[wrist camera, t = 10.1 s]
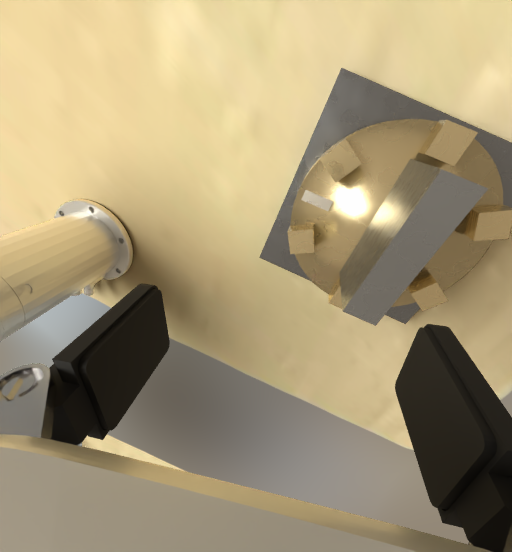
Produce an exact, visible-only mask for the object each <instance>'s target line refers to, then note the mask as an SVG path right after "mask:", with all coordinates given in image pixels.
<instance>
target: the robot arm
mask: <svg viewBox="0 0 512 552" xmlns="http://www.w3.org/2000/svg"><path fill="white" fill-rule="evenodd" d="M132 259H133V248H132V244H131V240H130V238H129V236H128V233H127V231H126V230H125V228H124V227H123V225H122V224H121V222H120V221H119V220H118V219H117V218H116V217H115V216H114V215H113V214H112V213H111V212H110V211H109V210H107V209H106V208H105V207H103V206H101V205H99V204H97V203H95V202H93V201H89V200H84V199H77V200H72V201H69V202H66V203H64V204H62V205H61V206H60V207H59V208H58V209H57V211H56V214H55V217H54V219H52V220H49V221H46V222H43V223H40V224H36V225H33V226H30V227H27V228H24V229H21V230H18V231H15V232H12V233H9V234H6V235H3V236H0V342H1V341H2V340H4V339H5V338H7V337H8V336H10V335H11V334H13V333H14V332H16V331H18V330H19V329H21V328H22V327H24V326H25V325H27V324H28V323H30V322H32V321H33V320H35V319H36V318H38V317H39V316H41V315H42V314H44V313H45V312H47V311H49V310H50V309H52V308H53V307H55V306H56V305H58V304H59V303H61V302H62V301H64V300H65V299H67V298H69V297H70V296H76V295H80V294H81V293H82V288H84V294H85V295H88V296H90V295H93V294H94V284H96V283H97V282H99V281H100V280H102V279H104V280H112V279H115V278H118V277H120V276H121V275H123V274H124V273H125V272H127V270H128V269H129V268H130V266H131V263H132ZM168 348H169V336H168V330H167V323H166V317H165V311H164V305H163V299H162V293H161V291H160V290H158V288H157V286H155V285H148V284H139V285H138V286H137V287H135V288H134V289H133V290H132V291H131V292H130V293H129V294H127V295H126V296H125V297H124V298H123V299H122V300H120V301H119V302H118V303H117V304H116V305H115V306H113V307H112V308H111V309H110V310H109V311H108V312H107V313H105V314H104V315H103V316H102V317H101V318H99V319H98V320H97V321H96V322H95V323H94V324H93V325H91V326H90V327H89V328H88V329H87V330H86V331H84V332H83V333H82V334H81V335H80V336H79V337H77V338H76V339H75V340H74V341H73V342H72V343H70V344H69V345H68V346H67V347H66V348H65V349H64V350H62V351H61V352H60V353H59V354H58V355H56V356H55V357H54V358H53V359H52V360H53V362H54V364H53V365H52V366H51V367H50V368H48V367H47V366H46V365H43V364H40V363H37V364H35V363H32V364H28V365H22V366H20V367H17V368H14V369H12V370H10V371H8V372H6V373H4V374H3V375H1V376H0V552H512V417H511V416H510V414H509V413H508V411H507V410H506V408H505V407H504V406H503V404H502V403H501V401H500V400H499V398H498V397H497V395H496V394H495V393H494V391H493V390H492V388H491V387H490V385H489V384H488V383H487V381H486V380H485V378H484V377H483V375H482V374H481V372H480V371H479V370H478V368H477V367H476V365H475V364H474V362H473V361H472V360H471V358H470V357H469V355H468V354H467V352H466V351H465V349H464V348H463V347H462V345H461V344H460V342H459V341H458V339H457V338H456V337H455V335H454V334H453V332H452V331H451V329H450V328H449V327H446V326H439V325H432V324H427V325H426V326H425V327H424V328H420V329H419V330H418V332H417V334H416V336H415V339H414V341H413V343H412V346H411V348H410V350H409V353H408V355H407V357H406V360H405V362H404V364H403V367H402V369H401V371H400V374H399V376H398V378H397V380H396V384H395V390H396V394H397V398H398V401H399V404H400V407H401V410H402V413H403V417H404V420H405V423H406V426H407V429H408V433H409V436H410V439H411V442H412V445H413V448H414V452H415V455H416V458H417V461H418V464H419V467H420V471H421V474H422V477H423V480H424V483H425V486H426V490H427V493H428V496H429V499H430V502H431V503H432V505H433V506H434V507H436V508H438V511H439V513H440V516H441V520H442V523H445V524H449V525H454V526H458V527H462V528H463V529H464V531H465V534H466V536H467V539H468V540H469V543H468V545H467V544H464V543H460V542H456V541H453V540H449V539H446V538H442V537H438V536H435V535H431V534H427V533H424V532H420V531H416V530H413V529H409V528H406V527H402V526H398V525H394V524H390V523H386V522H382V521H378V520H374V519H371V518H367V517H363V516H359V515H355V514H351V513H347V512H343V511H339V510H336V509H331V508H328V507H324V506H320V505H316V504H312V503H308V502H304V501H300V500H297V499H293V498H289V497H284V496H280V495H277V494H272V493H269V492H265V491H261V490H257V489H253V488H249V487H245V486H241V485H237V484H233V483H229V482H225V481H221V480H217V479H213V478H209V477H205V476H201V475H197V474H193V473H189V472H185V471H181V470H177V469H173V468H169V467H165V466H161V465H157V464H153V463H149V462H144V461H140V460H136V459H132V458H128V457H124V456H120V455H116V454H112V453H108V452H104V451H99V450H95V449H91V448H86V447H82V442H83V440H84V439H85V438H86V436H87V435H88V436H89V437H93V438H97V439H101V440H103V439H104V438H105V436H106V435H107V433H108V432H109V430H113V429H114V428H115V427H116V426H117V425H118V423H119V422H120V420H121V419H122V417H123V416H124V414H125V413H126V411H127V410H128V408H129V407H130V405H131V404H132V403H133V401H134V400H135V398H136V397H137V395H138V394H139V392H140V391H141V389H142V387H143V386H144V385H145V383H146V382H147V380H148V379H149V377H150V376H151V374H152V373H153V371H154V370H155V369H156V367H157V366H158V364H159V363H160V361H161V360H162V358H163V357H164V355H165V354H166V352H167V351H168Z"/></svg>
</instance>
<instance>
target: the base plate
mask: <svg viewBox="0 0 512 552" xmlns="http://www.w3.org/2000/svg"><path fill="white" fill-rule="evenodd" d="M402 119H425V120H431V121H439V120H449V121H451V122H454V123H456V124H459V125H461V126H464V127H466V128H468V129H471V130H473V131H476V132H478V134H477V135H476V136H475V138H474V139H475V140H476V141H478V142H479V143H480V144H481V145H482V146H483V147H484V149H485V150H486V151H487V152H488V153H489V155H490V156H491V158H492V160H493V161H494V163H495V164H496V167H497V169H498V172H499V175H500V177H501V182H502V188H503V205H506V206H509V207H511V208H512V143H511V142H509V141H506V140H504V139H502V138H500V137H497V136H495V135H493V134H491V133H488V132H486V131H484V130H481V129H479V128H477V127H475V126H472V125H470V124H468V123H466V122H463V121H461V120H459V119H457V118H454V117H452V116H450V115H447V114H445V113H443V112H441V111H438V110H436V109H434V108H432V107H429V106H427V105H425V104H423V103H420V102H418V101H416V100H414V99H411V98H409V97H407V96H404V95H402V94H400V93H398V92H395V91H393V90H391V89H389V88H386V87H384V86H382V85H380V84H377V83H375V82H373V81H370V80H368V79H366V78H364V77H361V76H359V75H357V74H355V73H352V72H350V71H348V70H346V69H343V68H341V70H340V73H339V75H338V77H337V80H336V82H335V84H334V87H333V89H332V91H331V94H330V96H329V98H328V100H327V103H326V105H325V107H324V110H323V112H322V114H321V117H320V119H319V121H318V123H317V126H316V128H315V130H314V133H313V135H312V137H311V140H310V142H309V144H308V147H307V149H306V151H305V153H304V156H303V158H302V160H301V163H300V165H299V167H298V170H297V172H296V174H295V177H294V179H293V181H292V183H291V186H290V188H289V190H288V193H287V195H286V197H285V200H284V202H283V204H282V207H281V209H280V211H279V213H278V216H277V218H276V220H275V223H274V225H273V227H272V230H271V232H270V234H269V236H268V239H267V241H266V243H265V246H264V248H263V250H262V253H261V255H260V258H262V259H264V260H266V261H268V262H271V263H273V264H275V265H277V266H279V267H282V268H284V269H286V270H288V271H290V272H292V273H295V274H297V275H299V276H301V277H303V278H306V279H308V280H310V278H309V277H308V276H307V275H306V274H305V272H304V271H303V269H302V268H301V266H300V264H299V262H298V260H297V258H296V256H295V254H290V248H289V240H288V232H287V231H288V229H289V226H290V223H291V214H292V209H293V204H294V201H295V199H296V196H297V193H298V191H299V189H300V186H301V184H302V182H303V180H304V178H305V177H306V175H307V173H308V172H309V170H310V169H311V167H312V166H313V165H314V163H315V162H316V161H317V160H318V159H319V158H320V156H321V155H322V154H324V153H325V152H326V151H327V150H328V149H329V148H330V147H331V146H332V145H334V144H335V143H337V142H338V141H339V140H341V139H342V138H344V137H346V136H348V135H349V134H351V133H353V132H355V131H357V130H360V129H362V128H365V127H367V126H370V125H374V124H377V123H381V122H387V121H394V120H402ZM310 281H311V280H310ZM419 309H420V307H419V305H418V304H417V302H415V303H411V304H407V305H402V306H396V307H391V308H390V309H389V310H388V311H387V312H386V314H385V315H387V316H389V317H391V318H394V319H396V320H398V321H400V322H402V323H405V324H406V323H407V322H408V321H409V319H410V318H411V317H412V316H413V315H414V314H415V313H416V312H417V311H418V310H419Z"/></svg>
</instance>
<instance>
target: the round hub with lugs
mask: <svg viewBox="0 0 512 552" xmlns="http://www.w3.org/2000/svg"><path fill="white" fill-rule="evenodd" d="M477 134H478V132H476V131H473V130H471V129H468V128H466V127H464V126H461V125H459V124H456V123H454V122H451V121H449V120H439V121H431V120H425V119H402V120H394V121H387V122H381V123H377V124H374V125H370V126H367V127H365V128H362V129H360V130H357V131H355V132H353V133H351V134H349V135H348V136H346V137H344V138H342V139H341V140H339V141H338V142H337V143H335V144H334V145H332V146H331V147H330V148H329V149H328V150H327V151H326V152H325V153H324V154H322V155H321V156H320V158H319V159H318V160H317V161H316V162H315V163H314V165H313V166H312V167H311V169H310V170H309V172H308V173H307V175H306V177H305V178H304V180H303V182H302V184H301V186H300V189H299V191H298V193H297V196H296V199H295V201H294V204H293V209H292V214H291V223H290V226H289V229H288V231H287V232H288V240H289V248H290V254H295V256H296V258H297V260H298V262H299V264H300V266H301V268H302V269H303V271H304V272H305V274H306V275H307V276H308V277H309V278H310V280H311V281H312V282H313V283H314V284H315V285H317V286H318V287H319V288H320V289H322V290H323V291H325V292H326V293H328V294H329V303H330V304H332V305H335V306H337V307H339V308H342V310H343V312H346V313H348V314H350V315H352V316H355V317H357V318H359V319H362V320H364V321H366V322H369V323H371V324H373V325H375V326H376V325H377V323H378V322H379V321H380V320H381V318H382V317H383V316H384V315H385V314H386V312H387V311H388V310H389V309H390V308H391V307H396V306H402V305H407V304H411V303H415V302H417V304H418V305H419V307H420V308H421V310H422V311H424V310H427V309H429V308H432V307H434V306H437V305H439V304H442V303H444V302H447V301H448V299H447V298H446V296H445V295H444V293H443V290H445V289H447V288H448V287H450V286H452V285H453V284H455V283H456V282H457V281H459V280H460V279H461V278H462V277H464V276H465V275H466V274H467V273H468V272H469V271H470V270H471V269H472V268H473V267H474V266H475V265H476V264H477V263H478V262H479V260H480V259H481V258H482V257H483V255H484V254H485V252H486V251H487V249H488V248H489V246H490V245H491V243H492V241H493V240H497V239H509V235H510V231H511V227H512V208H511V207H509V206H506V205H503V188H502V182H501V177H500V175H499V172H498V169H497V167H496V164H495V163H494V161H493V160H492V158H491V156H490V155H489V153H488V152H487V151H486V150H485V149H484V147H483V146H482V145H481V144H480V143H479V142H478V141H476V140H475V139H474V138H475V136H476V135H477Z"/></svg>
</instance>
